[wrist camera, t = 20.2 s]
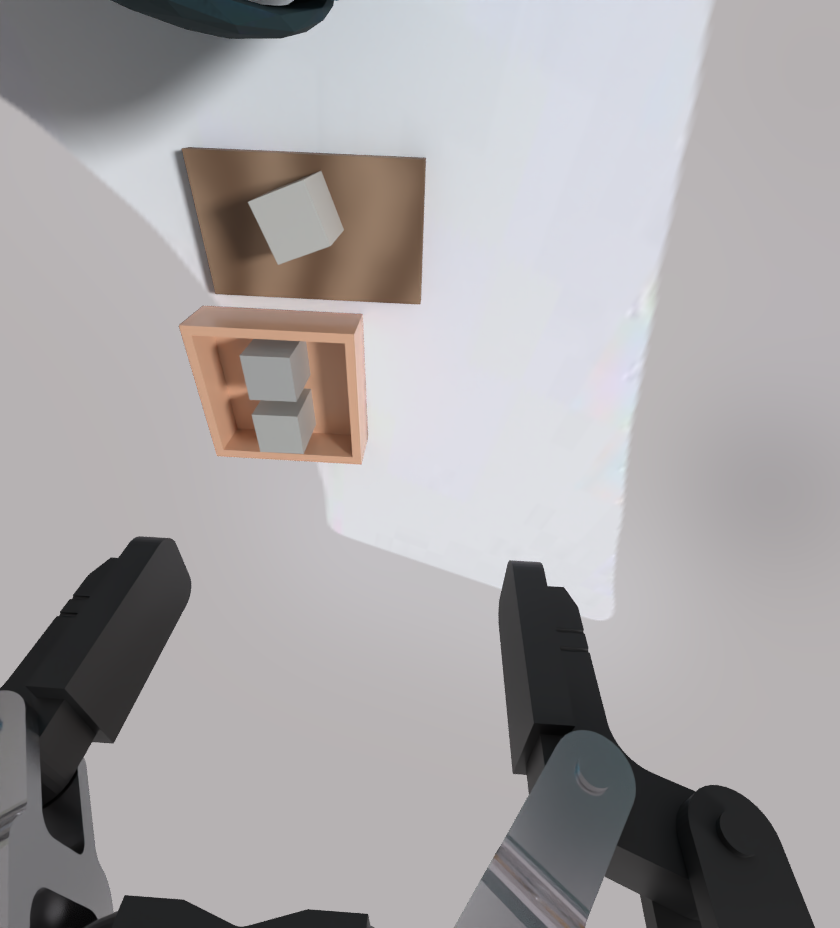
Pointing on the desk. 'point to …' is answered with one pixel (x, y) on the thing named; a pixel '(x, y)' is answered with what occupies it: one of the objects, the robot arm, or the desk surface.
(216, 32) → the helmet
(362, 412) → the bin
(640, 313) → the desk surface
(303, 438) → the stone
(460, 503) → the desk surface
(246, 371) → the stone
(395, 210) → the lid board
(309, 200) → the pale grey cube
